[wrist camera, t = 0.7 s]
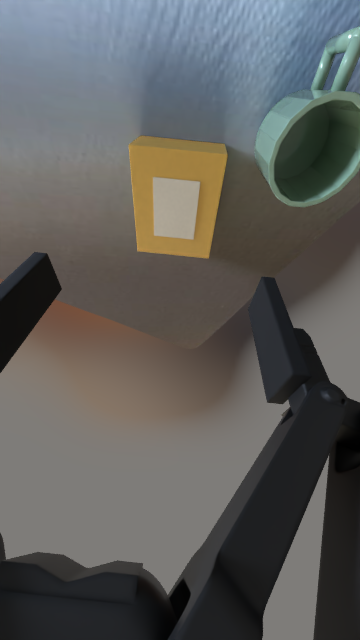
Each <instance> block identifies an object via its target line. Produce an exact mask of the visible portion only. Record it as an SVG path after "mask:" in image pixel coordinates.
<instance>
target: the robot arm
mask: <svg viewBox="0 0 360 640" xmlns="http://www.w3.org/2000/svg"><path fill="white" fill-rule="evenodd" d="M61 290H62V288H61V286H60V283H59V281H58V279H57V276H56V274H55V271H54V269H53V266H52V264H51V261H50V259H49V257H48V254H47V253H38V252H34V253H33V254H32V255H31V256H30V257H29V258H28V259H27V260H26V261H25V262H23V263H22V264H21V265H20V266H19V267H18V268H17V269H16V270H15V271H14V272H13V273H12V274H11V275H9V276H8V277H7V278H6V279H5V280H4V281H3V282H2V283H1V284H0V373H1V372H2V370H3V369H4V368H5V366H6V365H7V363H8V362H9V361H10V359H11V357H13V355H14V354H15V352H16V351H17V350H18V348H19V347H20V346H21V344H22V343H23V342H24V340H25V339H26V337H27V336H28V335H29V333H30V332H31V331H32V329H33V328H34V327H35V325H36V324H37V323H38V321H39V320H40V318H41V317H42V316H43V314H44V313H45V312H46V310H47V309H48V308H49V306H50V305H51V303H52V302H53V301H54V299H55V298H56V297H57V295H58V294H59V292H60V291H61ZM248 311H249V316H250V321H251V326H252V331H253V336H254V341H255V346H256V350H257V355H258V360H259V365H260V370H261V375H262V379H263V385H264V389H265V394H266V399H267V402H268V403H277V404H283V403H284V402H286V401H287V400H289V404H290V408H289V409H287V410H286V411H285V412H284V413H283V414H282V416H283V418H282V419H281V421H280V423H279V424H278V426H277V427H276V429H275V430H274V432H273V434H272V435H271V437H270V439H269V440H268V442H267V443H266V445H265V446H264V448H263V450H262V451H261V453H260V454H259V456H258V458H257V459H256V461H255V462H254V464H253V466H252V467H251V469H250V471H249V472H248V473H247V475H246V477H245V479H244V480H243V481H242V483H241V485H240V486H239V488H238V489H237V491H236V493H235V494H234V496H233V498H232V499H231V501H230V502H229V504H228V505H227V507H226V509H225V510H224V512H223V513H222V515H221V517H220V518H219V520H218V521H217V523H216V525H215V526H214V528H213V529H212V531H211V533H210V534H209V536H208V537H207V539H206V541H205V542H204V543H203V545H202V546H201V548H200V549H199V550H198V551H197V552H196V553H195V554H194V556H193V557H192V558H191V560H190V561H189V563H188V564H187V566H186V567H185V569H184V571H183V572H182V574H181V575H180V577H179V578H178V580H177V582H176V583H175V585H174V586H173V588H172V589H171V591H170V593H169V594H168V595H167V593H166V591H165V590H164V588H163V587H162V585H161V584H160V582H159V581H158V580H157V579H156V578H155V577H154V576H153V575H152V574H151V573H150V572H148V571H147V570H145V569H143V568H142V566H143V563H133V562H124V561H114V562H111V563H107V564H103V565H100V566H96V567H92V568H85V567H84V566H82V565H80V564H78V563H77V562H75V561H73V560H71V559H70V558H68V557H66V556H64V555H60V554H50V553H40V552H37V553H32V554H28V555H24V556H19V557H16V558H11V559H7V560H6V557H5V550H4V543H3V538H2V536H1V534H0V640H262V636H263V614H264V610H265V607H266V604H267V602H268V599H269V597H270V595H271V592H272V590H273V587H274V585H275V582H276V580H277V578H278V575H279V573H280V571H281V568H282V566H283V563H284V561H285V559H286V556H287V554H288V551H289V549H290V547H291V544H292V542H293V539H294V537H295V534H296V532H297V530H298V527H299V525H300V523H301V520H302V518H303V515H304V513H305V511H306V508H307V506H308V503H309V501H310V498H311V496H312V494H313V491H314V489H315V487H316V484H317V482H318V479H319V477H320V475H321V472H322V470H323V467H324V465H325V463H326V460H327V458H328V456H329V466H328V478H327V489H326V500H325V512H324V523H323V535H322V546H321V558H320V570H319V581H318V593H317V604H316V616H315V628H314V639H313V640H360V403H359V402H357V401H354V400H352V399H349V398H347V397H346V395H345V394H344V392H343V391H342V390H341V389H340V388H338V387H337V386H336V385H334V384H332V383H331V382H330V381H329V378H328V376H327V374H326V372H325V369H324V367H323V365H322V362H321V360H320V358H319V356H318V355H317V351H316V349H315V347H314V344H313V342H312V340H311V337H310V336H309V335H308V334H307V333H306V332H305V331H304V330H303V329H298V328H293V325H292V323H291V320H290V318H289V315H288V312H287V310H286V307H285V304H284V302H283V300H282V297H281V294H280V292H279V289H278V286H277V284H276V281H275V278H271V277H261V280H260V282H259V284H258V287H257V289H256V292H255V294H254V296H253V299H252V301H251V303H250V306H249V308H248ZM329 453H330V454H329Z"/></svg>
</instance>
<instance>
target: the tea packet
mask: <svg viewBox="0 0 360 640" xmlns="http://www.w3.org/2000/svg"><path fill="white" fill-rule="evenodd" d="M129 154H130V166H131V178H132V189H133V201H134V213H135V224H136V236H137V248H138V251H142V252H152V253H162V254H171V255H181V256H190V257H200V258H209V254H210V248H211V243H212V237H213V232H214V227H215V221H216V216H217V211H218V205H219V200H220V195H221V189H222V184H223V178H224V173H225V168H226V162H227V157H228V154H227V151H226V147H225V144H220V143H210V142H200V141H190V140H180V139H170V138H160V137H150V136H140V137H138V138H137V139H136V140H134V141H133V142H132V143H130V144H129Z"/></svg>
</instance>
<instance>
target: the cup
mask: <svg viewBox="0 0 360 640" xmlns="http://www.w3.org/2000/svg"><path fill="white" fill-rule="evenodd" d="M344 52H345V54H344V57H343V59H342V62H341V64H340V67H339V69H338V72H337V74H336V77H335V79H334V82H333V84H332V87H331V89H330V90H323V87H324V84H325V82H326V79H327V76H328V74H329V71H330V69H331V66H332V63H333V61H334V58H335V55H336V54H340V53H344ZM359 57H360V26H359V27H356V28H354V29H351V30H349V31H346V32H344V33H341V34H339V35H336V36H334V37H332V38H330V39H329V41H328V42H327V44H326V46H325V49H324V52H323V55H322V58H321V60H320V63H319V66H318V69H317V72H316V75H315V78H314V80H313V83H312V86H311V89H310V90H301V91H297V92H294V93H292V94H290V95H288V96H286V97H284V98H283V99H281V100H280V101H279V102H278V103H277V104H276V105H275V106H274V107H273V108H272V109H271V110H270V111H269V113H268V114H267V115H266V117H265V119H264V120H263V122H262V124H261V126H260V128H259V131H258V134H257V137H256V142H255V160H256V164H257V166H258V168H259V170H260V172H261V174H262V176H263V177H264V179H265V180H266V182H267V184H268V185H269V187H270V188H271V190H272V192H273V193H274V195H275V196H276V198H278V199H279V200H281V201H282V202H284V203H285V204H287V205H289V206H296V207H307V206H311V205H314V204H318V203H321V202H323V201H325V200H327V199H328V198H330V197H331V196H333V195H335V194H336V193H338V192H339V191H341V190H342V189H343V188H344V187H345V186H346V184H347V183H348V182H349V181H350V180H351V179H352V178H353V177H354V176H355V175H356V174H357V173H358V171H359V169H360V94H358V93H357V92H348V91H345V89H346V87H347V85H348V82H349V80H350V78H351V75H352V73H353V71H354V69H355V66H356V64H357V62H358V59H359Z"/></svg>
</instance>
